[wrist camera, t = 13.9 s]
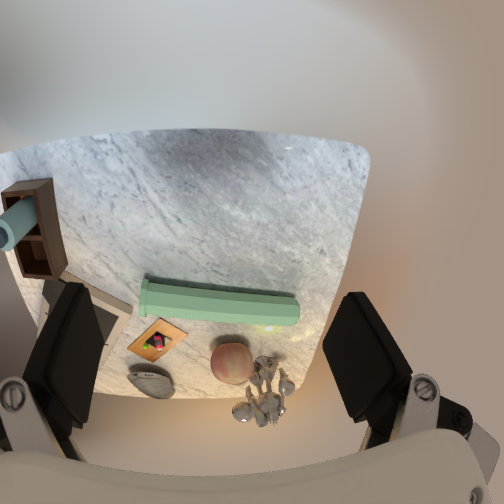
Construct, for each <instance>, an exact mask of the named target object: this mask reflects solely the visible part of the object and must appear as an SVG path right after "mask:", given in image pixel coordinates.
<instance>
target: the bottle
mask: <svg viewBox="0 0 504 504" xmlns="http://www.w3.org/2000/svg"><path fill="white" fill-rule="evenodd" d="M37 223H38V218H37V213H36V207H35V202H34V195H26V196H25V197H23V198H22V199H21V200H19V201H18V202H17V203H15V204H14V205H13V206H12V207H10V208H9V209H8V210H7V211H5V212H4V213H3V214H2V215H0V249H2V250H4V251H10V250H12V249H13V248H14V246H15V245H16V244H17V243H18V242H19V241H20V240H21V239H22V238H23V237H24V236H25V235H26V234H27V233H28V232H29V231H30V230H31V229H32V228H33V227H34V226H35V225H36V224H37Z"/></svg>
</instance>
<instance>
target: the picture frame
mask: <svg viewBox="0 0 504 504" xmlns="http://www.w3.org/2000/svg"><path fill="white" fill-rule="evenodd" d="M69 281H70V282H80V283H83V284H84V286H85V287H87V288H88V289H89V292H90V296H91V299H92V303H93V306H94V310H95V313H96V316H97V319H98V323H99V326H100V329H101V332H102V335H103V338H104V347H103V351H102V355H101V359H100V363H99V367H98V370H100V371H101V370H102V368H103V366H104V364H105V362H106V360H107V358H108V356H109V355H110V353H111V351H112V349H113V347H114V345H115V343H116V342H117V340H118V338H119V336H120V334H121V333H122V331H123V329H124V327H125V325H126V324H127V322H128V320H129V318H130V317H131V314H132V310H133V306H130V305H128V304H126V303H124V302H122V301H120V300H118V299H116V298H114V297H112V296H110V295H108V294H106V293H104V292H103V291H101V290H99V289H97V288H95V287H93V286H91V285H89V284H88V283H86V282H84V281H82V280H80V279H79V278H77V277H75V276H73V275H71V274H70V273H68V272H66V271H65V270H64V271H63V273H62V274H61V276H60V278H59V279H58V280H45V282H44V287H43V292H42V295H43V299H42V305H41V311H40V318H39V326H38V335H37V339H38V337H39V334H40V332H41V330H42V328H43V326H44V323H45V321H46V320H47V318H48V317H49V316H50V314H51V312H52V310H53V308H54V306H55V304H56V302H57V300H58V298H59V296H60V294H61V293H62V291H63V289H64V287H65V285H66V284H67V282H69Z"/></svg>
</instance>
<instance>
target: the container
mask: <svg viewBox="0 0 504 504" xmlns="http://www.w3.org/2000/svg"><path fill="white" fill-rule="evenodd" d="M147 314H149V315H157V316H165V317H173V318H183V319H192V320H203V321H214V322H227V323H242V324H259V325H282V326H291V325H294V324H296V323H297V321H298V319H299V317H300V305H299V303H298V301H297V300H296V299H294V298H292V297H280V296H268V295H256V294H245V293H234V292H224V291H215V290H205V289H196V288H188V287H179V286H171V285H163V284H156V283H150V281H149V280H148V279H143V281H142V285H141V291H140V300H139V316H142V317H146V315H147Z"/></svg>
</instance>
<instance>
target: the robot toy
mask: <svg viewBox="0 0 504 504" xmlns="http://www.w3.org/2000/svg"><path fill="white" fill-rule="evenodd" d="M255 361H256V362H259V363H260V364H261V366H262V367H257V366H258V365H257V364H256V363H255V362H254V366H253V372H252V374H251V376H250V377H249V381H250V382H251V383H252V384H254V385H255V386H256V387H257V390H258V394H259V398H258V401H257V399H255V398H254V395H253V394H251V388H250V385H249V386H248V387H246V396H247V398H248V402H246V401H242V402H238V403H237V404H235V406H234V407H233V409H232V414H233V417H234V418H235V419H236V420H237V421H239V422H248V421H250V420H251V419H252V418H253V417H255V420H256V423H257V424H258V426H259V427H263V426H266V425H267V424H268V421H269V422H270V423H271V422H272V423H273V425H274V422H275V423H276V424H277V420H278V419H279V417H278V416H280V413H281V415H282V414H283V413H284V412H286V408H285V407H284V396H289V395H291V394H292V393H293V392H294V390H295V384H294V383H293V381H292V380H290V379H289V378H288V375H286V373H285V371H284V370H283V369H282V367H281V368H279V372H280V380H279V392H280V393H281V396H280V395H279V394H277V393H275V392H272V390H271V381H272V380H273V377H274V375H275V372H276V369H278V368H277V367H278V365H279V363H278V362H279V361H277V360H275V359H272V358H268V357H265V356H260V357H259V358H257V359H256V360H255ZM255 367H257V368H255ZM263 380H266V387H267V392H265V393H263V391H262V388H261V386H262V384H263Z"/></svg>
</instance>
